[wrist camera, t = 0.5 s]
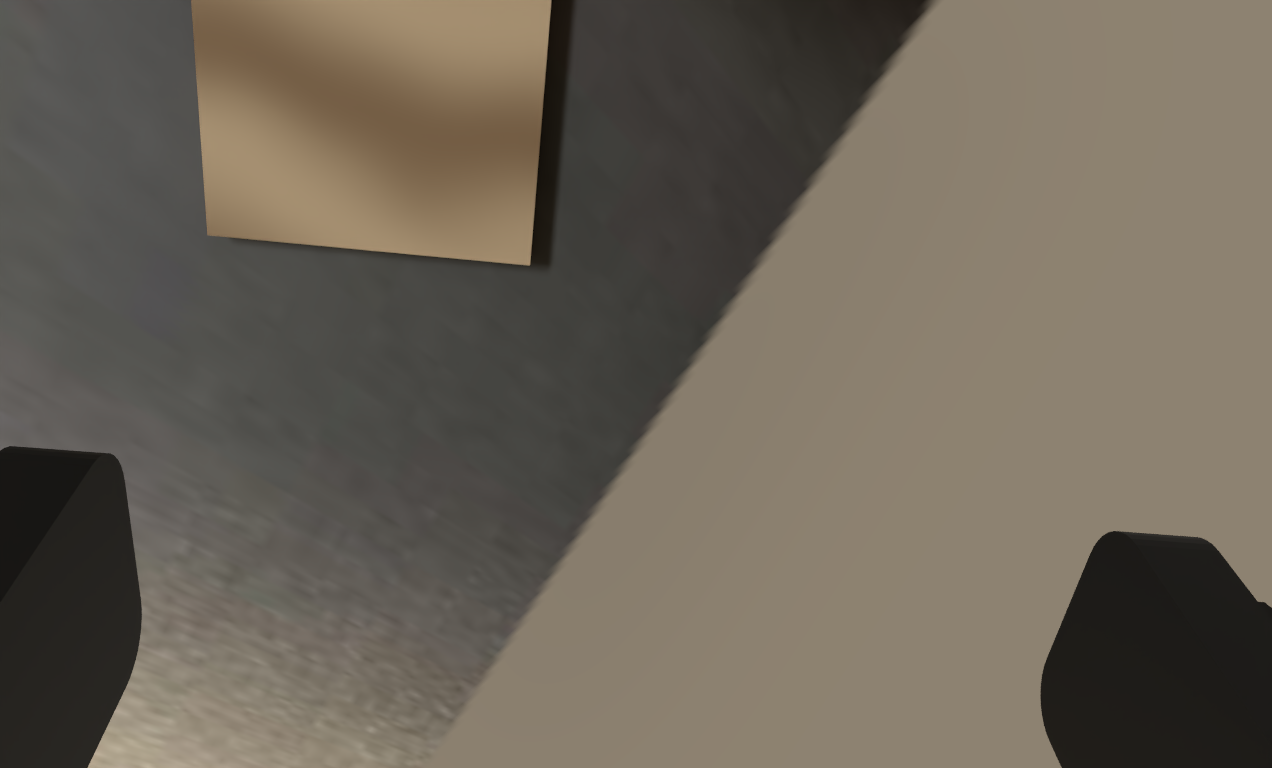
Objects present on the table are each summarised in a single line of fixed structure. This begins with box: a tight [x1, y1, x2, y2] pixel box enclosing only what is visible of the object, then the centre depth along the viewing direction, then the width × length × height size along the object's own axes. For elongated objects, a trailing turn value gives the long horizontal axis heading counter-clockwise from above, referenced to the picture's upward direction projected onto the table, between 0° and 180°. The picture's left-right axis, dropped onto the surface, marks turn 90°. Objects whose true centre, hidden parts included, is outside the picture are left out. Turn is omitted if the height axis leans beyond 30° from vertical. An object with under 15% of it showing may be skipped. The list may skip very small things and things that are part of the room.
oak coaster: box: [191, 0, 552, 266], centre depth 30 cm, size 9×9×1 cm
